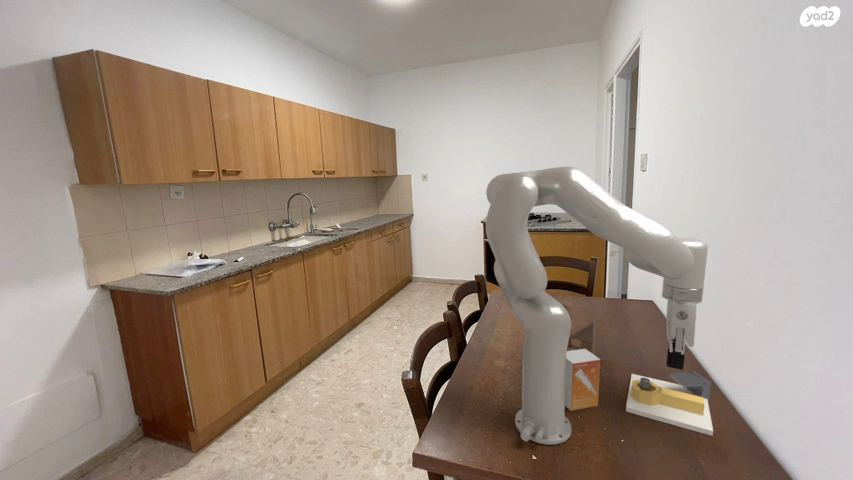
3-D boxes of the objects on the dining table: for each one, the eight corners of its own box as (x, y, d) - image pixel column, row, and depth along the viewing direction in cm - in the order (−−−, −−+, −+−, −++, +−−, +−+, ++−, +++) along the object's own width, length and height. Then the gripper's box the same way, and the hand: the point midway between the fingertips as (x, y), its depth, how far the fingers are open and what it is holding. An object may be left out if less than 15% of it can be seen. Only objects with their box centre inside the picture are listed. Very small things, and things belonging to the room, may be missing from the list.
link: (630, 399, 91) (631, 389, 91) (632, 387, 97) (632, 377, 96) (703, 419, 83) (705, 408, 83) (701, 405, 88) (702, 394, 88)
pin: (647, 404, 91) (649, 382, 90) (638, 401, 92) (640, 380, 91) (648, 400, 93) (649, 378, 92) (639, 397, 94) (640, 376, 93)
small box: (570, 412, 89) (572, 363, 87) (556, 397, 96) (557, 351, 93) (598, 406, 91) (601, 359, 89) (582, 392, 97) (584, 347, 95)
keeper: (693, 391, 96) (694, 371, 95) (708, 402, 91) (710, 381, 90) (668, 393, 96) (669, 373, 95) (682, 404, 91) (684, 383, 90)
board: (712, 436, 80) (713, 431, 79) (625, 411, 89) (626, 406, 89) (705, 394, 94) (705, 390, 94) (631, 377, 104) (631, 373, 103)
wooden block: (591, 365, 111) (594, 310, 108) (557, 355, 118) (558, 303, 115) (595, 360, 114) (597, 306, 111) (561, 351, 121) (562, 300, 118)
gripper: (706, 304, 74) (697, 386, 77) (698, 286, 86) (691, 357, 89) (663, 299, 78) (656, 377, 80) (661, 282, 90) (655, 350, 93)
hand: (674, 366), depth 85 cm, fingers closed
